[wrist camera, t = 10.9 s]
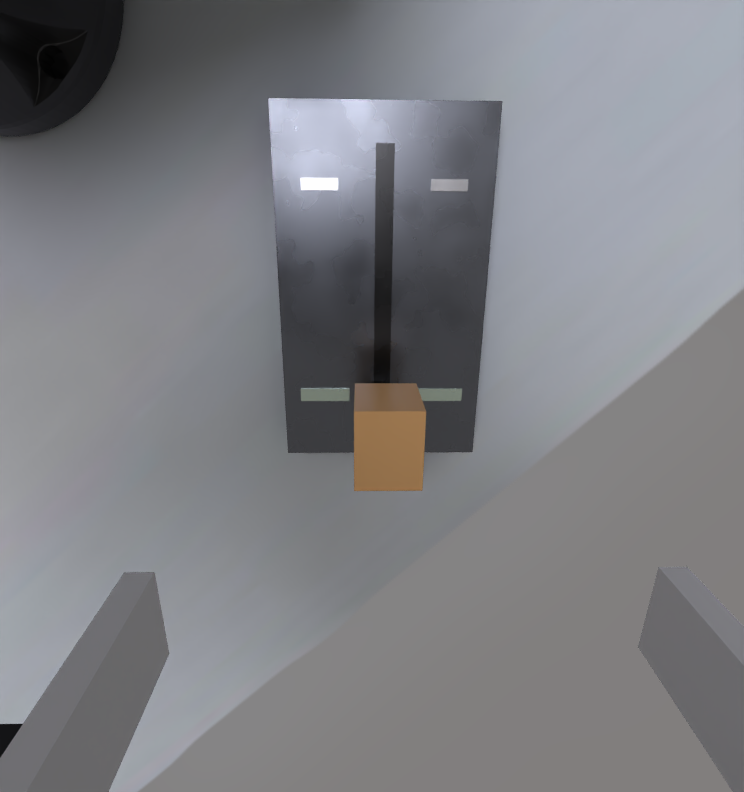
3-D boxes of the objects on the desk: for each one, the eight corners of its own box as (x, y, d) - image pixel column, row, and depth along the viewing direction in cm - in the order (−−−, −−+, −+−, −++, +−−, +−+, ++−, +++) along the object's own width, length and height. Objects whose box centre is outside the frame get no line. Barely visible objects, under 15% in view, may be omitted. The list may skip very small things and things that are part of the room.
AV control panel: (276, 109, 27) (267, 97, 24) (489, 112, 27) (502, 100, 25) (293, 436, 34) (288, 453, 31) (464, 436, 34) (472, 452, 31)
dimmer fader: (355, 362, 29) (354, 411, 21) (408, 362, 29) (426, 411, 21) (355, 423, 30) (354, 490, 23) (406, 423, 30) (422, 490, 23)
